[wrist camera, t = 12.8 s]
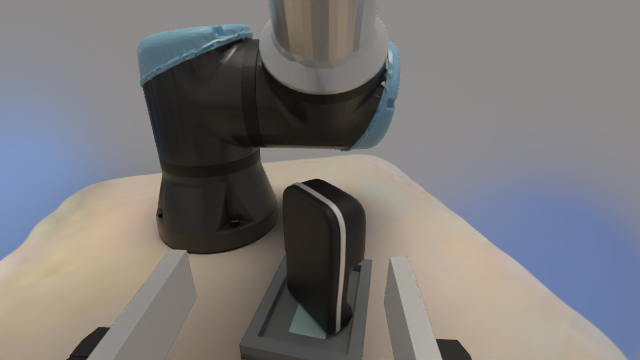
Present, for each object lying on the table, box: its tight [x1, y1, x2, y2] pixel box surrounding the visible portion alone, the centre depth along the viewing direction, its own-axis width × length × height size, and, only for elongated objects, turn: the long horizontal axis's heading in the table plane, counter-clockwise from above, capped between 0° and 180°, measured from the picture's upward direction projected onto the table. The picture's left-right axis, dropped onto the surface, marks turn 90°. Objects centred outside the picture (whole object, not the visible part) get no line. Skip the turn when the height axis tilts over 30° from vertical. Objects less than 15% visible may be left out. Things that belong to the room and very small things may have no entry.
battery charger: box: [283, 179, 366, 335], centre depth 25 cm, size 7×4×11 cm, turn 37°
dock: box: [240, 255, 372, 360], centre depth 28 cm, size 12×9×2 cm
